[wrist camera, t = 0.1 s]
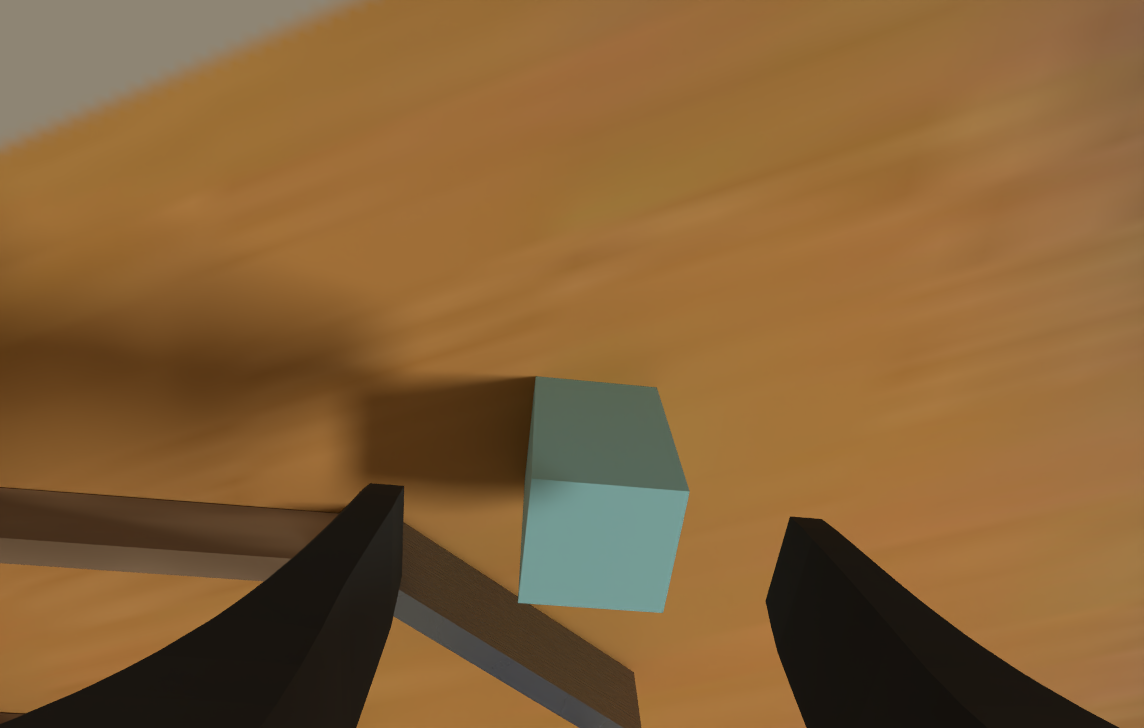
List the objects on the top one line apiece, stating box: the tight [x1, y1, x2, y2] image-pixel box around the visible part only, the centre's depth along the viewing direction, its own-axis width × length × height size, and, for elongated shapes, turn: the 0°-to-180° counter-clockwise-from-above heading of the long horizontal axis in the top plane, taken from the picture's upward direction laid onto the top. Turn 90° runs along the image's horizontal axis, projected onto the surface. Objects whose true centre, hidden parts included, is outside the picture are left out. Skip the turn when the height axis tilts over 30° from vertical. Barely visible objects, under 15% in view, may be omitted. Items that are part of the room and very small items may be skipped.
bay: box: [0, 488, 338, 724], centre depth 26 cm, size 12×16×2 cm
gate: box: [393, 523, 641, 728], centre depth 25 cm, size 12×1×3 cm, turn 48°
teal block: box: [518, 376, 689, 613], centre depth 21 cm, size 4×4×6 cm
